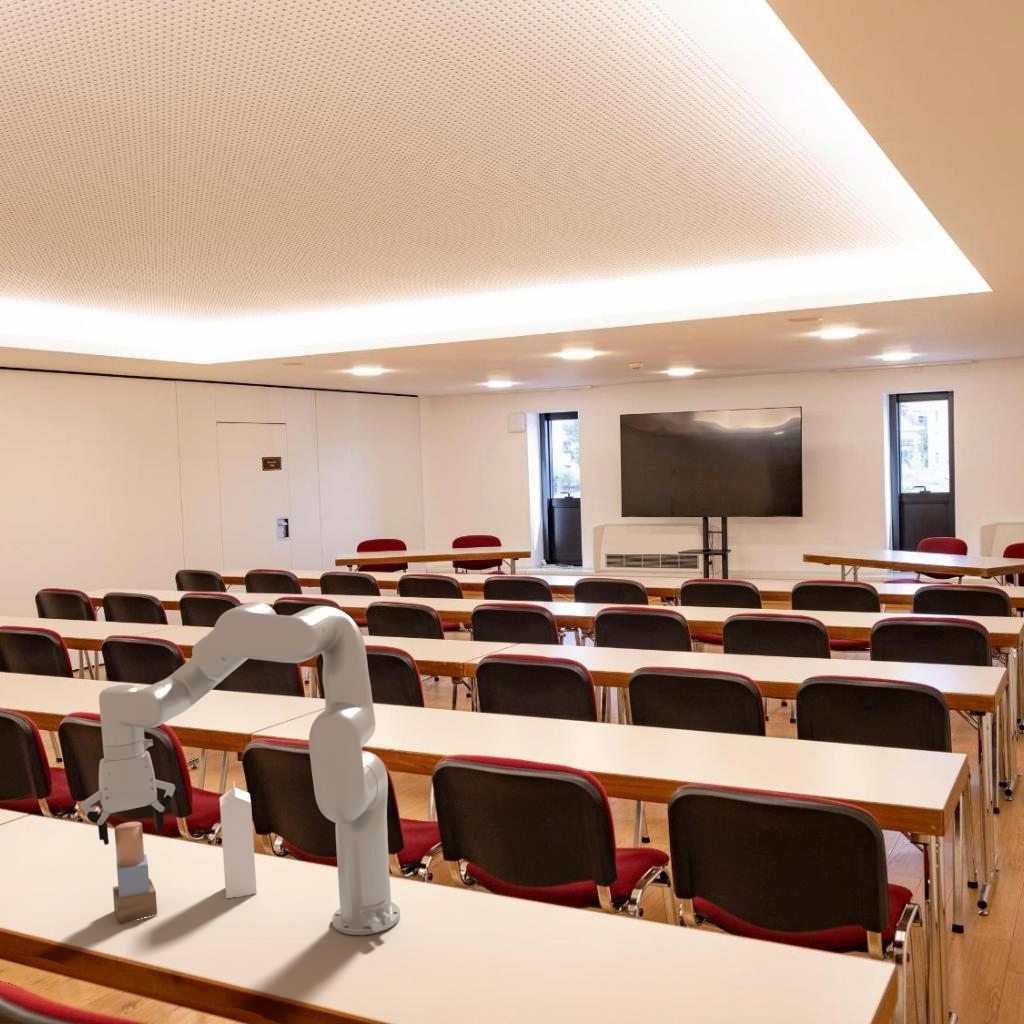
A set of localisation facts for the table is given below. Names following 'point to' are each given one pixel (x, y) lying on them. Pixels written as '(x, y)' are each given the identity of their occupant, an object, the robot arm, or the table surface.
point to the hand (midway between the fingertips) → (132, 836)
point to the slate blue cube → (133, 879)
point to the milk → (238, 843)
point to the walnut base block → (135, 905)
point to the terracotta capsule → (129, 844)
